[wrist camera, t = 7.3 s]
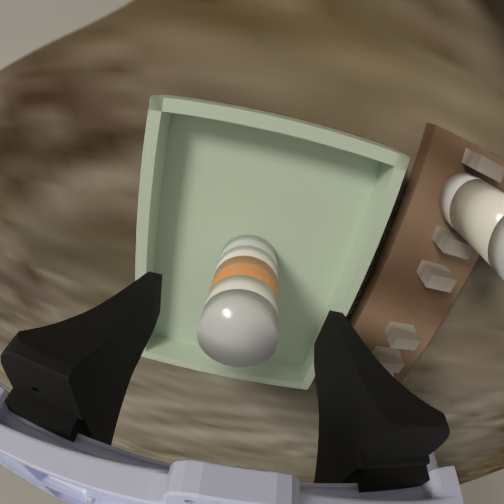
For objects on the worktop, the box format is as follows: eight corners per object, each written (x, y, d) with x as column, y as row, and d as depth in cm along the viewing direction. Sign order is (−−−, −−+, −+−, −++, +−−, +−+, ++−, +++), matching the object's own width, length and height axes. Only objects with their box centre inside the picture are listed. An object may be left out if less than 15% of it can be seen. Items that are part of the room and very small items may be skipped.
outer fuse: (470, 231, 15) (530, 293, 9) (430, 217, 15) (490, 282, 9) (490, 182, 13) (561, 231, 8) (450, 163, 13) (524, 209, 8)
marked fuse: (270, 289, 18) (267, 373, 12) (216, 278, 18) (193, 358, 12) (283, 241, 16) (287, 317, 11) (225, 229, 16) (201, 300, 11)
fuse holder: (383, 390, 23) (390, 414, 20) (315, 383, 22) (317, 410, 20) (505, 162, 13) (530, 175, 11) (427, 122, 13) (451, 130, 11)
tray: (305, 365, 21) (307, 389, 19) (147, 332, 21) (137, 354, 19) (393, 148, 14) (410, 157, 12) (166, 94, 14) (150, 96, 12)
